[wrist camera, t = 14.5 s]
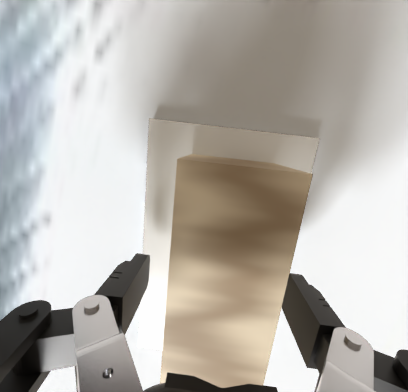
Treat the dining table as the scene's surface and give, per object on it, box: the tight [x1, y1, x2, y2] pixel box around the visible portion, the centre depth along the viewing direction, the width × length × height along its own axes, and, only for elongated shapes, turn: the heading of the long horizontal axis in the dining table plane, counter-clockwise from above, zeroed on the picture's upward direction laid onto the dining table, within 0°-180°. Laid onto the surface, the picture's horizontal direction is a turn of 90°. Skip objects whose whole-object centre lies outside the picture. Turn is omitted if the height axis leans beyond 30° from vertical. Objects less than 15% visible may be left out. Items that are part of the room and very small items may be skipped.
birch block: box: [160, 154, 313, 388], centre depth 12 cm, size 5×5×14 cm
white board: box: [138, 118, 320, 350], centre depth 14 cm, size 10×17×1 cm, turn 174°
